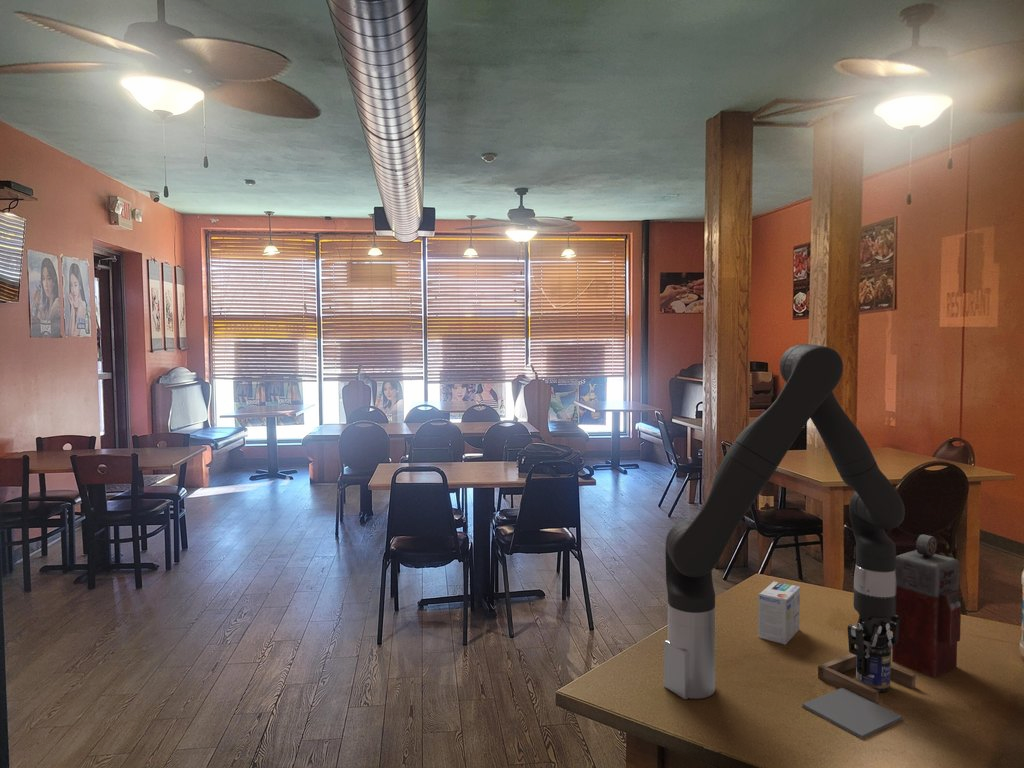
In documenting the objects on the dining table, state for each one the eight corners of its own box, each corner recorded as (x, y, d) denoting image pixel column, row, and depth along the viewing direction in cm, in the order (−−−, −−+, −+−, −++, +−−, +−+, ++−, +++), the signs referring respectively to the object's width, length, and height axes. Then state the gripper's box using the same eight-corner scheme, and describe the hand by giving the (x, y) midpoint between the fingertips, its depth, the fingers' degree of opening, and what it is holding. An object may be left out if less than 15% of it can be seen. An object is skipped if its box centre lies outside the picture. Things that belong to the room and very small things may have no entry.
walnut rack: (874, 705, 127) (874, 692, 127) (817, 677, 137) (818, 665, 137) (915, 686, 133) (915, 674, 133) (858, 662, 144) (858, 650, 144)
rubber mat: (861, 739, 116) (861, 735, 116) (802, 706, 126) (802, 703, 126) (902, 719, 122) (902, 716, 122) (842, 690, 132) (842, 687, 132)
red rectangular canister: (946, 682, 135) (950, 547, 133) (891, 660, 144) (893, 533, 143) (969, 671, 139) (972, 539, 138) (913, 650, 149) (916, 527, 147)
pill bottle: (887, 696, 130) (888, 641, 129) (853, 687, 133) (854, 633, 133) (892, 683, 135) (893, 630, 134) (858, 674, 138) (859, 623, 138)
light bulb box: (772, 622, 165) (772, 580, 164) (800, 629, 160) (801, 586, 160) (757, 637, 157) (757, 592, 156) (786, 645, 152) (787, 599, 152)
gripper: (871, 601, 126) (869, 687, 127) (914, 587, 133) (912, 669, 134) (835, 589, 133) (833, 671, 134) (878, 576, 140) (876, 654, 141)
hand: (873, 669), depth 134 cm, fingers closed on pill bottle, 6 cm apart
